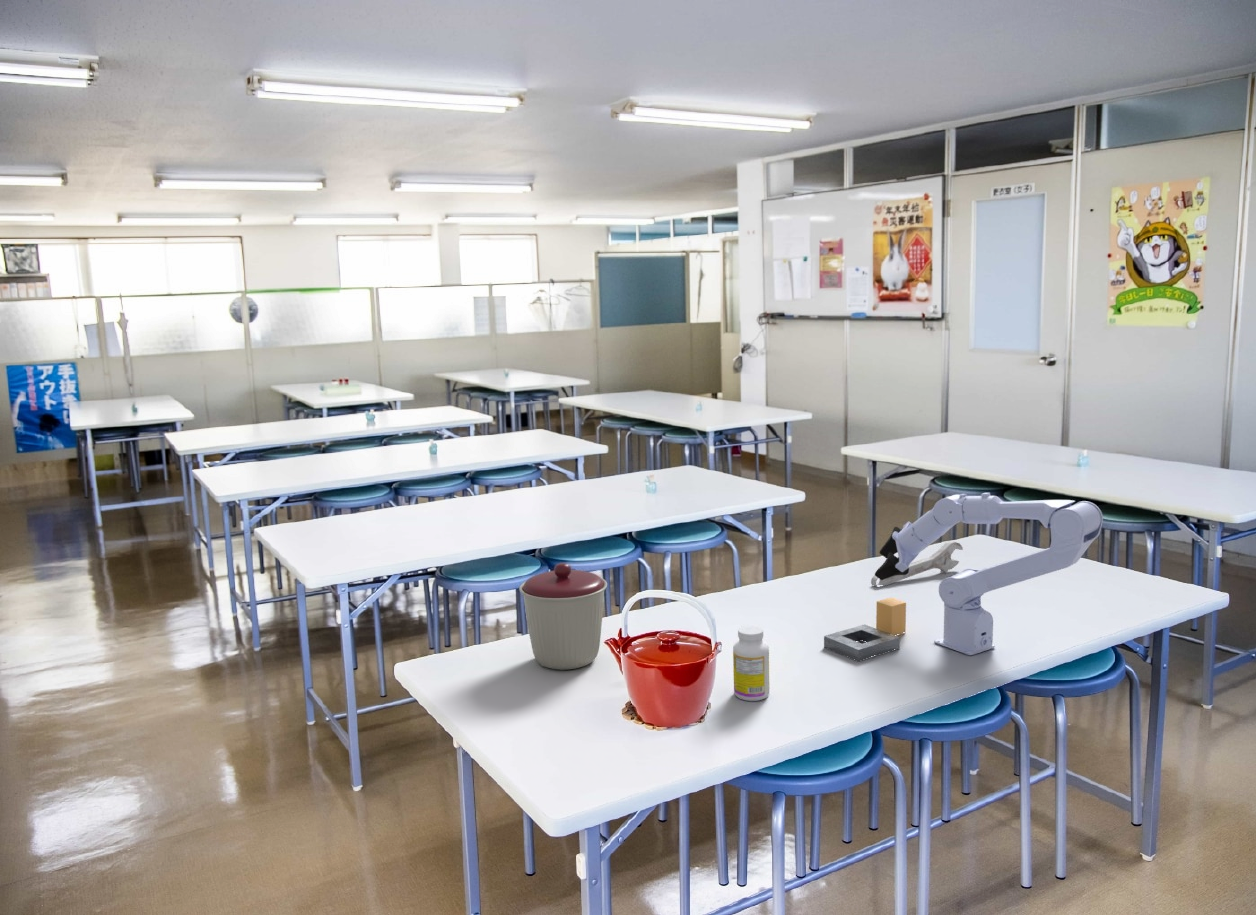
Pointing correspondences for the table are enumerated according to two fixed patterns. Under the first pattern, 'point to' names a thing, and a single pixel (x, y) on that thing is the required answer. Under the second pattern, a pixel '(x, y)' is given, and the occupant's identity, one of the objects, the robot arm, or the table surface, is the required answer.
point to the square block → (891, 616)
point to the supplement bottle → (751, 664)
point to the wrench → (927, 564)
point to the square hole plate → (849, 647)
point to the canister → (564, 616)
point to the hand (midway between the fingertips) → (880, 565)
